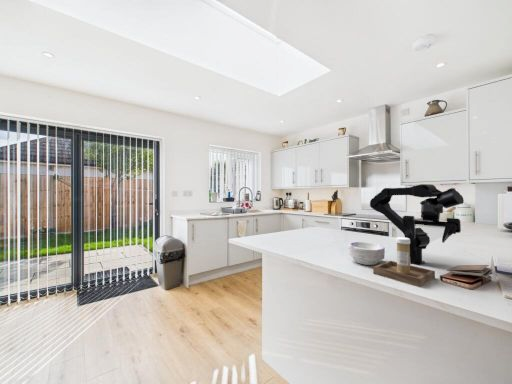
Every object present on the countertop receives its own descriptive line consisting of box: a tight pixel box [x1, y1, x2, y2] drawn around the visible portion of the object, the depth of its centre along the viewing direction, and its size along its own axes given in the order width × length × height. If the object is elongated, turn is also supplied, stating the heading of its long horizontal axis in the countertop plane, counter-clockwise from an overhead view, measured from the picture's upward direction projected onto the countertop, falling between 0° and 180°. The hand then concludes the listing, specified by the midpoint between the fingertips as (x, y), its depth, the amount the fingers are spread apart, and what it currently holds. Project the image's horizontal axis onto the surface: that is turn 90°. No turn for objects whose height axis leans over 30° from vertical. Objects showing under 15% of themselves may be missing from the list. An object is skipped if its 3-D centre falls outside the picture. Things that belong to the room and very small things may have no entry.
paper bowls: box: [347, 241, 386, 266], centre depth 108 cm, size 15×15×8 cm
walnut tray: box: [372, 260, 436, 288], centre depth 91 cm, size 14×16×3 cm
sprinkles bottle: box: [395, 236, 411, 274], centre depth 91 cm, size 5×5×14 cm
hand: (427, 240), depth 91 cm, fingers open, 9 cm apart
